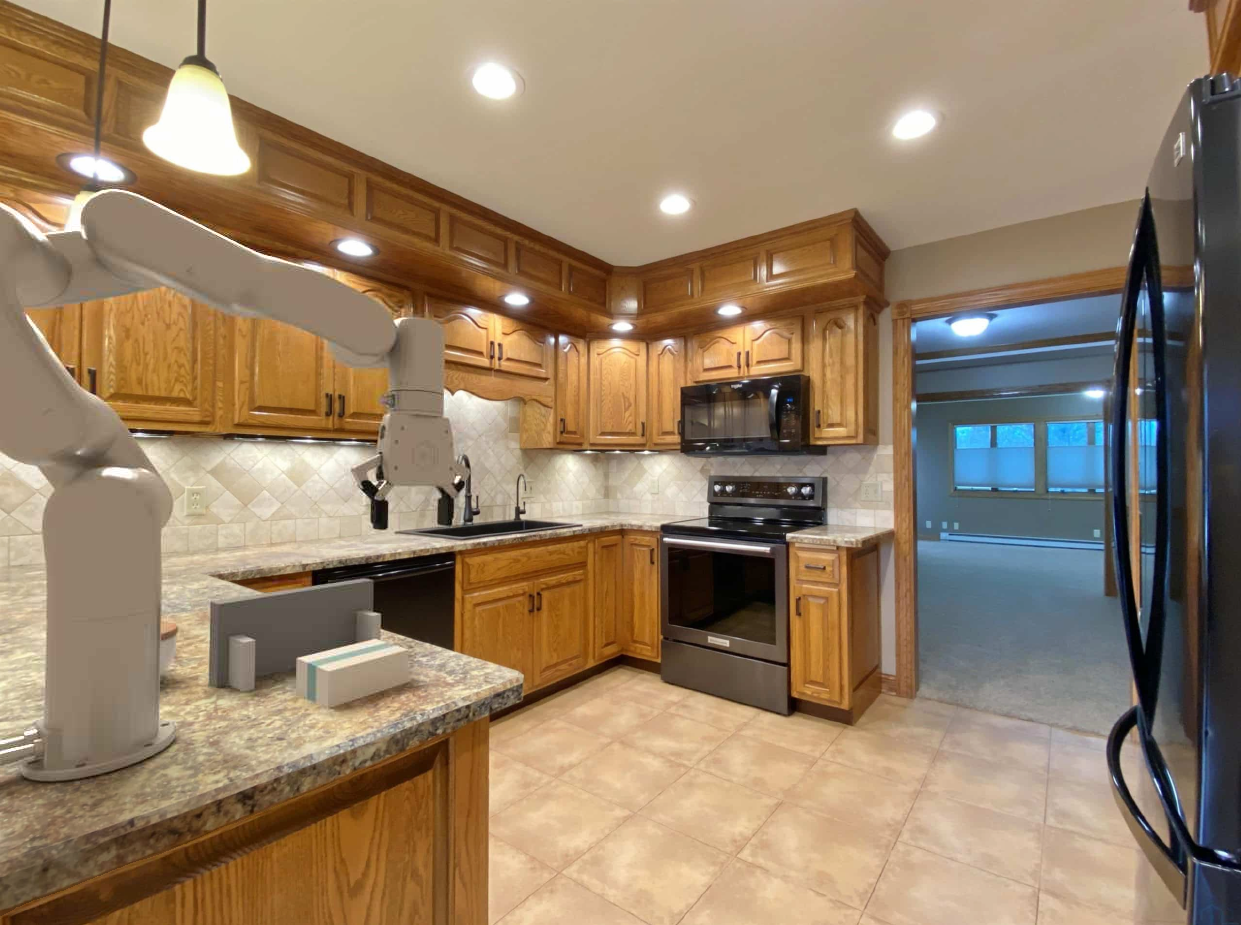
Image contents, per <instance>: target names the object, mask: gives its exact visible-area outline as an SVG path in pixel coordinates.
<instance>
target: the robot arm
mask: <svg viewBox="0 0 1241 925" xmlns="http://www.w3.org/2000/svg"><path fill="white" fill-rule="evenodd" d="M78 225H79V229H72V230H62V231H55V232H46V233H42V232H41V231H40V229H38V228H37V227H36V226H35V225H34V224H33V223H32V222H31V221H30V220H29V219H27V218H26V217H24V216H23V214H22V215H21V214H20V213H19V212H18V211H16V210H14V209H13V208H11V207H9V206H8V205H5V204H4V203H1V202H0V453H2V454H3V455H5V456H6V457H8V458H10V459H11V460H13V461H16V462H18V463H21V464H24V465H28V466H34V467H37V469H38V470H39V471H40V472H41V473H42V475H43V476H44V477H45V479H46V480H47V481H48V483H49V484H50V485H51V487H52V488H53V492H52V493H51V494H50V496H49V498H48V499H47V501H46V504H45V507H44V509H43V513H42V521H41V529H42V530H41V534H42V543H43V552H44V560H45V570H46V571H45V572H46V573H45V575H46V604H45V605H46V606H45V607H46V610H45V613H46V614H45V619H46V628H45V629H46V631H45V633H46V635H45V638H46V639H45V668H44V670H45V672H44V699H43V700H44V701H43V702H44V703H43V704H44V705H43V706H44V708H43V709H44V710H43V718H39V719H36V720H34V728H32V729H29V730H23V731H22V733H21V735H20V736H16V737H12V738H8V739H0V767H3V766H5V765H10V764H13V763H17V762H19V761H21V766H20V767H21V768H20V769H21V770H20V771H21V775H22V776H23V777H24V778H26V779H29V780H31V781H39V782H61V781H70V780H78V779H83V778H88V777H94V776H97V775H102V774H106V773H109V772H112V771H116V770H119V769H123V768H126V767H129V766H132V765H133V764H136V763H139V762H141V761H144V760H147V758H150V757H152V756H154V755H156V754H158V753H159V752H161V751H163V750H164V749H166V748H167V747H169V745H171V743H172V742H173V741H174V740H175V738H176V730H177V728H176V725H175V723H173V722H172V721H170V720H167V719H162V718H160V693H161V688H160V687H161V676H160V656H161V622H162V607H163V605H162V593H163V592H162V591H163V590H162V589H163V588H162V587H163V574H162V570H163V566H162V565H163V564H162V530H163V529H164V528H165V526H166V525H167V524H168V522H169V520H170V519H171V518H172V517H171V516H172V515H173V514H172V513H173V509H174V498H173V495H172V492H171V490H170V488H169V486H168V484H167V483H166V481H165V479H164V478H163V477H162V476H161V474H160V472H159V471H158V470H157V468H156V466H154V464H153V462H152V461H151V459H150V457H148V456H147V454H146V452H145V450H143V448H142V447H141V446H140V444H139V442H138V441H137V440H136V438H135V437H134V435H133V434H132V432H131V431H130V429H128V427H127V425H126V424H125V423H124V421H123V420H122V419H121V417H120V416H119V415H118V413H117V412H116V411H115V410H114V409H113V408H112V406H110V404H108V403H107V402H105V401H104V400H103V399H101V398H100V397H99V396H97V395H95V394H93V393H91V392H89V391H87V389H84V388H83V387H81V385H80V384H79V383H78V382H77V381H76V380H75V379H74V377H73V376H72V375H71V373H70V372H69V371H68V370H67V369H66V367H65V365H64V364H63V362H62V361H61V360H60V358H58V356H57V355H56V353H55V352H54V350H53V349H52V347H51V346H50V344H49V343H48V342H49V341H47V339H46V338H45V336H44V335H43V333H42V332H41V331H40V329H39V328H38V327H37V325H36V324H35V323H34V322H33V321H32V320H31V318H30V317H29V315H28V314H27V313H26V311H25V310H24V309H33V310H35V309H37V310H38V309H39V310H40V309H51V308H53V309H54V308H58V307H65V306H71V305H77V304H78V305H79V304H82V303H89V302H94V301H99V300H106V299H111V298H117V297H122V296H129V295H133V294H138V293H143V292H147V291H150V290H156V289H158V288H161V287H163V288H166V289H168V290H171V291H173V292H175V293H178V294H180V295H183V296H185V297H187V298H189V299H192V300H193V301H196V302H198V303H200V304H202V305H204V306H207V307H209V308H211V309H214V310H215V311H218V312H220V313H223V314H225V315H228V316H231V317H236V318H241V319H257V318H258V319H266V320H271V321H276V322H280V323H282V324H286V325H289V326H292V327H295V328H297V329H300V330H303V331H305V332H307V333H310V334H312V335H313V336H316V337H317V338H320V339H323V340H325V341H326V346H327V347H326V348H327V350H328V352H329V354H330V355H331V357H332V358H333V359H334V360H335V361H336V362H338V364H340V365H341V366H343V367H345V368H346V367H347V368H349V369H353V370H382V369H383V370H384V369H385V370H388V379H387V380H388V386H387V387H388V388H387V389H388V390H387V392H386V394H385V395H382V394H380V395H379V397H378V404H379V405H381V406H384V407H386V412H387V413H386V414H383V416H382V419H381V424H380V428H379V432H378V438H377V442H376V452H375V454H376V455H375V456H372V457H369V458H368V459H366V460H364V461H361V462H360V463H358V464H356V465H353V466H352V467H351V469H350V472H351V474H352V476H353V478H354V480H355V482H356V483H357V487H358V488H359V489H360V490H361V491H362V492H363V493H364V494H365V495H366V498H367V499H368V500H370V514H369V515H370V517H369V518H370V519H369V520H370V524H371V525H372V529H373V530H377V531H379V530H380V531H386V530H388V529H389V501H388V499H386V497H387V495H388V494H389V493H390V492H391V491H392V489H393V488H394V487H395V486H396V487H397V486H398V487H434V488H435V489H436V491H437V492H438V493H439V495H440V496H441V497H438V499H437V515H436V516H437V519H436V520H437V521H436V523H437V525H439V526H443V527H444V526H445V527H452V526H453V520H454V518H455V500H456V499H457V498H458V497H459V493H460V492H461V491H462V490H463V489H464V488H465V487H466V482H467V480H468V478H469V476H470V475H471V469H470V468H468V467H467V466H465V465H464V464H462V463H460V462H458V461H456V460H455V459H456V458H455V447H454V437H453V431H452V426H451V421H450V418H448V417H444V412H445V410H444V408H445V407H444V406H445V404H444V403H445V397H444V396H445V365H446V364H445V359H446V358H445V356H446V332H445V329H444V327H443V326H442V324H440V323H439V322H437V321H435V320H433V319H430V318H429V319H428V318H425V317H423V318H422V317H414V316H408V317H400V318H397V319H394V317H393V315H392V314H391V312H389V310H388V309H387V308H386V307H385V306H384V305H382V303H380V302H379V301H377V300H376V299H374V298H373V297H371V296H369V295H367V294H365V293H363V292H361V291H360V290H357V289H356V288H354V287H351V286H350V285H349V284H345V283H343V282H342V281H340V280H338V279H336V278H334V277H331V276H330V275H328V274H325V273H323V272H320V271H318V270H314V269H312V268H309V267H307V266H304V265H303V266H302V265H299V264H297V263H293V262H289V261H286V260H283V259H280V258H277V257H273V256H268V255H265V254H262V253H259V252H256V251H254V250H253V249H250V248H248V247H245V246H244V245H242V244H240V243H237V242H236V241H233V240H231V239H229V238H228V237H225V236H223V235H221V234H219V233H217V232H215V231H214V230H211V229H209V228H207V227H205V226H203V225H202V224H199V223H197V222H195V221H193V220H192V219H189V218H187V217H186V216H183V215H181V214H178V213H177V212H175V211H173V210H171V209H169V208H167V207H165V206H163V205H161V204H159V203H157V202H154V201H152V200H151V199H148V198H146V197H144V196H141V195H140V194H137V193H133V192H130V191H126V190H122V189H121V190H120V189H105V190H100V191H98V192H96V193H94V194H92V195H90V196H89V197H88V198H87V199H86V200H85V202H84V203H83V204H82V206H81V209H80V210H79V216H78ZM371 470H375V471H374V472H375V473H374V474H375V480H376V483H375V484H374V483H373V482H372V481H371V480H370V479H369V476H368V472H369V471H371Z"/></svg>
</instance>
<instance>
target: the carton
mask: <svg viewBox="0 0 1241 925" xmlns="http://www.w3.org/2000/svg"><path fill="white" fill-rule="evenodd" d="M409 657H410V650H409V648H405V647H402V646H399V645H396V644H393V643H390V642H386V641H383V640H377V639H373V640H369V641H365V642H361V643H357V644H353V645H349V646H344V647H340V648H336V649H332V650H328V651H324V652H320V653H316V654H312V655H307V656H303V657H299V658H297V662H296V667H295V669H296V670H295V673H296V674H295V675H296V676H295V694H298V695H299V696H302V697H304V698H306V699H308V700H309V701H312V702H314V703H316V704H318V705H320V706H322V707H324V708H327V709H331V708H333V707H336V706H339V705H342V704H346V703H348V702H351V701H355V700H358V699H361V698H364V697H367V696H370V695H373V694H376V693H379V692H382V691H386V690H389V689H392V688H394V687H397V686H398V687H399V686H400V685H404V684H407V683H409V671H410V670H409V668H410V667H409V666H410V665H409V662H410V660H409V659H410V658H409Z"/></svg>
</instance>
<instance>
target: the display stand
mask: <svg viewBox="0 0 1241 925" xmlns="http://www.w3.org/2000/svg"><path fill="white" fill-rule="evenodd" d="M209 611H210V612H209V613H210V614H209V650H208V651H209V652H208V653H209V654H208V656H209V658H208V684H210V685H211V686H213V687H215V688H219V687H224V686H230V687H232V688H234V689H236V690H238V691H240V692H242V693H245V692H250V691H253V690H255V683H256V682H255V679H256V678H259V677H263V676H267V675H270V674H275V673H279V672H283V671H286V670H290V669H293V668H294V669H296V662H297V658H299V657H303V656H307V655H312V654H316V653H320V652H324V651H328V650H332V649H336V648H340V647H344V646H349V645H353V644H357V643H361V642H365V641H369V640H373V639H377V640H381V636H382V635H381V631H382V630H381V627H382V626H381V625H382V623H381V622H382V614H381V613H378V612H374V580H373V579H369V578H359V579H358V578H357V579H353V580H344V581H338V582H333V583H332V582H331V583H325V584H317V585H312V586H306V587H305V586H304V587H298V588H293V589H284V590H279V591H272V592H265V593H257V594H251V595H243V596H238V597H232V598H224V599H218V600H217V599H216V600H211V601H210V607H209ZM381 641H382V640H381Z"/></svg>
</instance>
